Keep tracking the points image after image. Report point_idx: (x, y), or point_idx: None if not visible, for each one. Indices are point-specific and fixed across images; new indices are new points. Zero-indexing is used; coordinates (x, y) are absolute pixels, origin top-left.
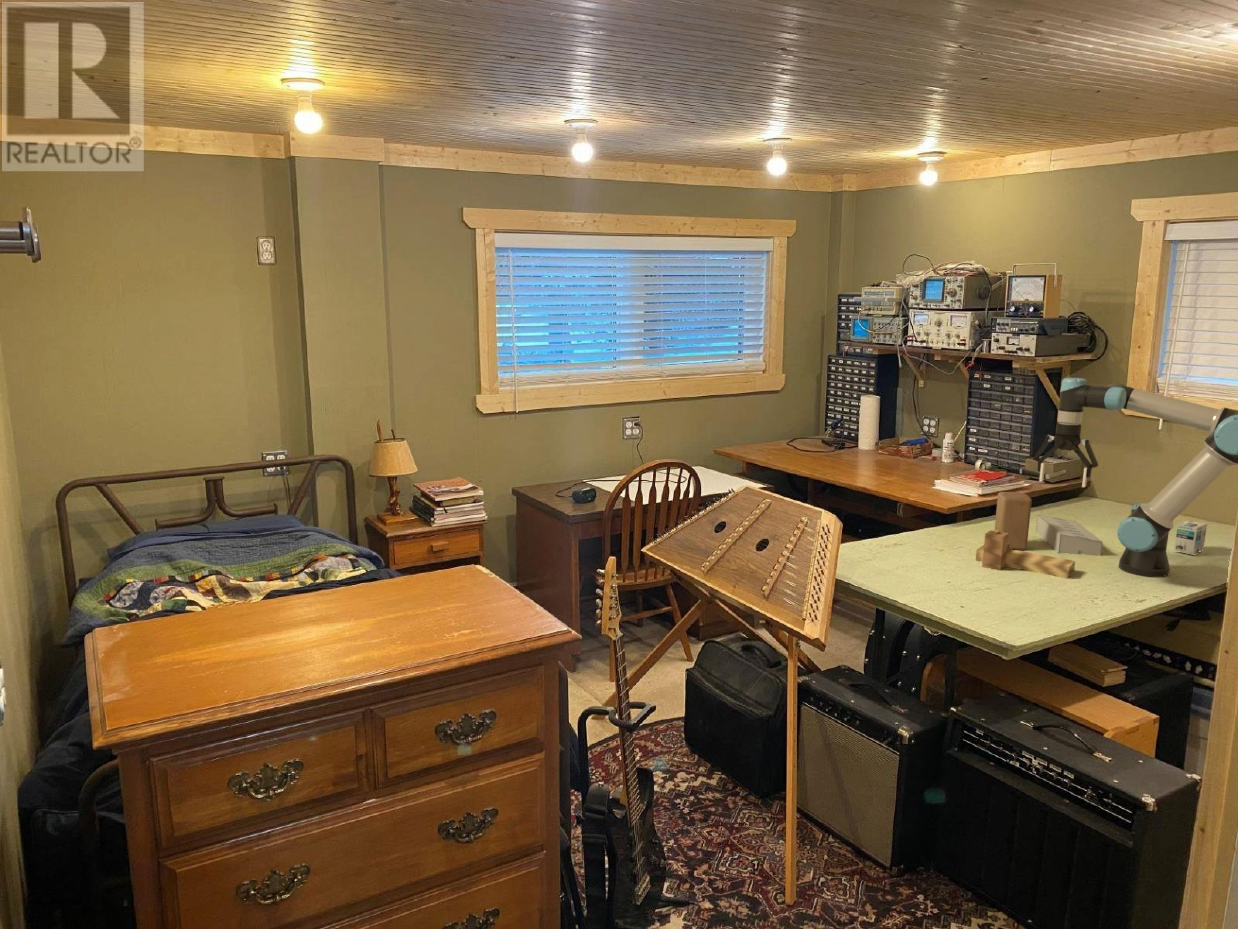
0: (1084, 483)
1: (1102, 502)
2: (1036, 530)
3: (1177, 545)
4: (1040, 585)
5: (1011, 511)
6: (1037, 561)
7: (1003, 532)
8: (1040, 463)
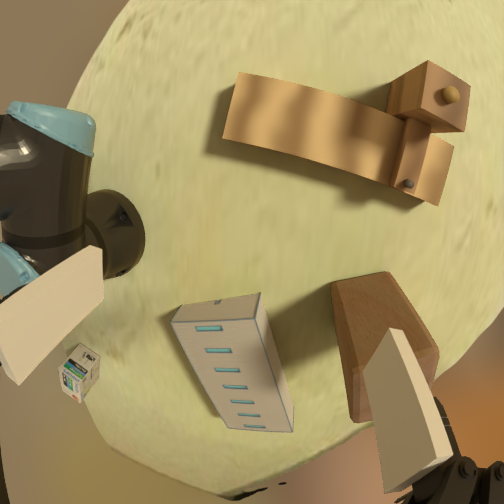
0: (73, 256)
1: (210, 488)
2: (293, 408)
3: (91, 360)
4: (301, 9)
5: (401, 327)
6: (317, 89)
7: (434, 113)
8: (445, 458)
